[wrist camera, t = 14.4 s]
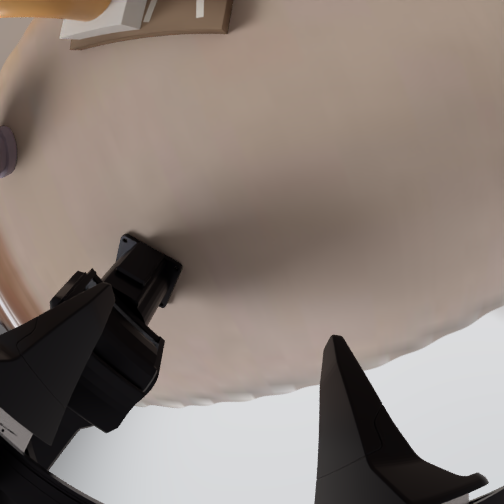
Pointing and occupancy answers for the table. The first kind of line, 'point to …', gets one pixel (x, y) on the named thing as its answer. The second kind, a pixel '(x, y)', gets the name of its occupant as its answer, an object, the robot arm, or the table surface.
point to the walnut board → (170, 21)
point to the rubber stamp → (81, 15)
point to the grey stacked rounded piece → (7, 151)
